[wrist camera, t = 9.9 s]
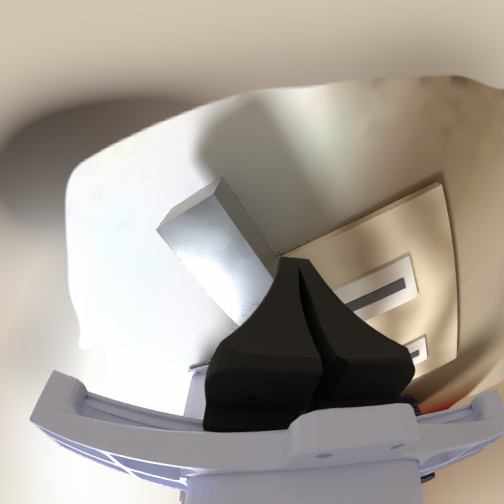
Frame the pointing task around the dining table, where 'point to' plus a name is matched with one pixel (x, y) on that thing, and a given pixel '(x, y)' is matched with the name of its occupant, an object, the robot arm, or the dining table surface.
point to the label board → (397, 274)
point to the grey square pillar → (222, 249)
